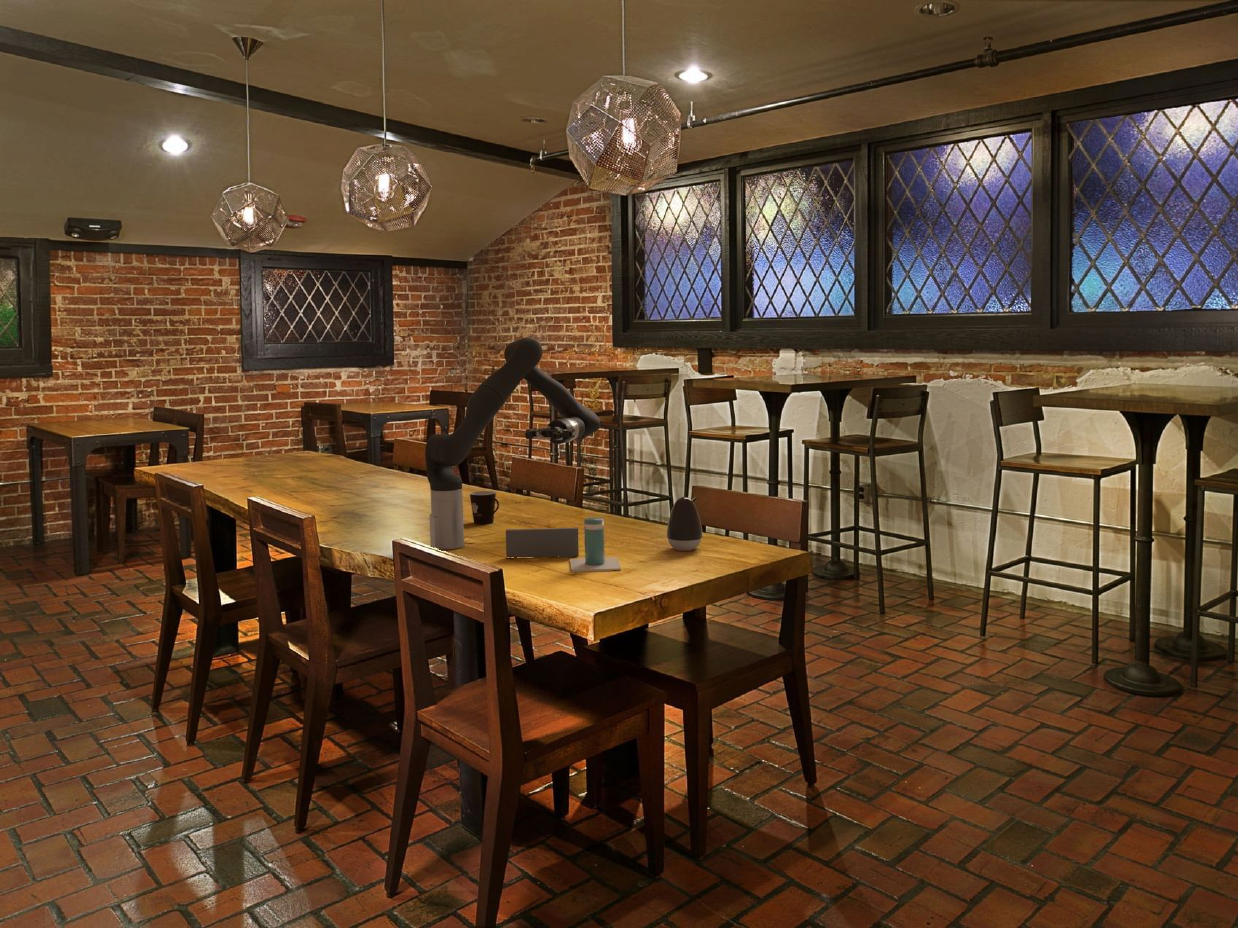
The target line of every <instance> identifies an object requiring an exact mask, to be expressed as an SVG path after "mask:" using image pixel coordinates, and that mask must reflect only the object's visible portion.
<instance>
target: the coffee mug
mask: <svg viewBox="0 0 1238 928" xmlns="http://www.w3.org/2000/svg"><path fill="white" fill-rule="evenodd" d="M496 493H497V492H496V491H493V490H476V491H471V492H469V498H470V506H471V512H472V519H473V524H474V525H480V526H481V525H484V526H485V525H492V524H494V520H495V513H497V511H498V510H499V507H500V503H499V500H498V499H497V497H496V496H497V494H496ZM495 506H496V507H495Z"/></svg>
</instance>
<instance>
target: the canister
mask: <svg viewBox="0 0 1238 928" xmlns="http://www.w3.org/2000/svg"><path fill="white" fill-rule="evenodd" d="M604 520H605V519H604V518H603V517H594V516H593V517H586V518H584V519H583V529H584V530H583V531H584V558H585V564H586V565H602V564H604V563H605V558H606V557H605V521H604Z"/></svg>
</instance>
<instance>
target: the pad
mask: <svg viewBox="0 0 1238 928" xmlns="http://www.w3.org/2000/svg"><path fill="white" fill-rule="evenodd" d="M569 562H570V571H571V573H585V572H584V571H593V572H611V571H610V570H621V571H622V568H621V563H620V560H619V558H618V557H605V563H604V564H602V565H586V564H585V557H584V558H583V557H582V558H570V559H569Z"/></svg>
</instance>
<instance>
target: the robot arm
mask: <svg viewBox="0 0 1238 928" xmlns="http://www.w3.org/2000/svg"><path fill="white" fill-rule="evenodd" d="M503 351H504V352H503V354H504V360H505V363H504V364H503V365H502V366H501V367H499V369H497V370H495V371H494V372H493V373H491V375H488V377H487V378H486V379H485V380H483V381H482V382H480V384H479V385H478V386H477V388H476V389H475V391H474V392H473V393H472V394H471V396H470V397H469V398H468V401H467V404H466V409H465V414H464V415H465V416H464V419H463V420H462V422H461V423H460V424H459V426H458V427H457V428H456V429H455V430H454V431H453V432H452V433H449V434H448V433H435V434H432V435H430V436H429V438H428V439H427V441H426V444H425V447H424V456H425V457H424V458H425V460H424V461H425V470H426V478H427V481H428V483H429V487H430V492H429V493H430V509H431V510H430V514H429V531H430V532H429V536H430V539H429V540H430V547H432V546H433V547H436V548H439V549H438V550H454V549H460V548H463V547H465V531H464V530H465V528H464V526H465V525H464V500H463V497H464V496H463V480H462V478H461V477H460V476H458V475H457V474H456V473H455V472H454V470H453V467H456V466H459V465H460V464H461V463H463V461H464V460H465V459H466V458H467V456H468V454H469V453H470V452H471V450H472V448H473V446H474V445H475V444H476V441H477V440H478V438H479V437H480V436H481V434H482V433H483V432H484V430H485V429H486V428H487V427H488V424H490V422H491V421H492V420H493V418H494V417H496V415H497V414H498V412H499V411H500V410H501V408H503V406H504V405H505V404H506V402H507V401H508V399H509V397H510V396H511V395H512V394H513V393H514V391H515V390H516V388H517V387H518V385H519V384H520V383H521V382H522V381H523V379H524V380H525V381H527V382H528V383H529V384H530V385H531V386H532V387H533V388H534V389H536V391H538V392H539V393H540V394H541V395H542V396H543V397H544V398H545V399H546V400H547V401H548V402H549V404H551V406H552V407H553V408H554V410H556V412H557V413H558V415H560V416H561V417H562V418H559V419H558V418H557V419H554V420H552V421H550V422H549V423H548V424H547V426H544V427H534V428H529V429H528V428H527V429H525V434H524V435H525V439H526V440H531V439H537V440H548V441H549V442H551V443H552V444H555V445H561V444H566V443H570V442H572V441H575V442H579V441H583V440H585V439H586V438H588V437H590V436H591V435H592V434H594V433H595V432H598V431H599V429H600V428H601V420H600V417H598V415H597V414H596V413H595V412H594V411H592V410H591V409H590V408H588V407H586V406H584V405H583V404H582V403H580V402H579V401H578V400H577V399H576V398H575V397H574V396H573V394H572V393H571V392H570V391H569V390H568V388H566V387H565V386H564V385H563V384H562V383H561V382H559V381H557V380H556V379H554V378H552V376H549V375H548V374H546V373H545V372H544V370H542V369H540V367H538V366H537V365H538V364H540V361H541V360H542V358H543V346H542V344H541V342H540V341H539V340H538V339H536V338H534V337H522V338H519V339H518V340H515V341H512V342H510V343H508V344H507V345H506V347H505V348H504V350H503ZM433 547H432V548H433Z"/></svg>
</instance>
